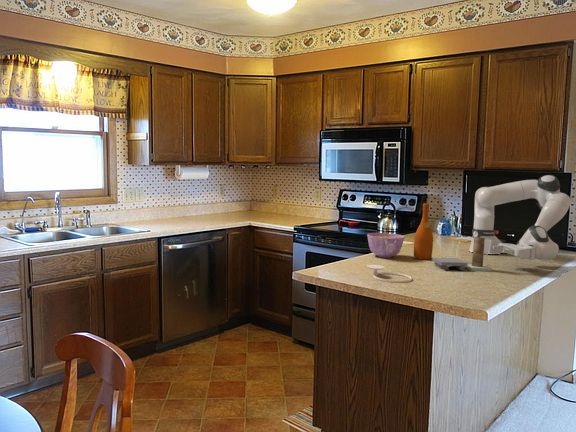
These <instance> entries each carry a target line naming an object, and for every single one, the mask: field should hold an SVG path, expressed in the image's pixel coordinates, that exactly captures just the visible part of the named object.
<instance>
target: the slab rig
mask: <svg viewBox="0 0 576 432" xmlns="http://www.w3.org/2000/svg"><path fill="white" fill-rule="evenodd" d="M431 259H432V260H431V261H432V262H434V265H435V266H437V267H439V268H440V269H442V270H444V272H445V271H449V270H450V269H449V267H450V266H451V267H453V268H455V269H457V270H459V271H461V272H464V271H465V270H466V268H465V267H464V266H468V264H469V263H468V262H467V261H465V260H463V259H461V258H459V257H435V256H434V257H433V256H432V258H431Z"/></svg>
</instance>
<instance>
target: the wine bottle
mask: <svg viewBox="0 0 576 432" xmlns="http://www.w3.org/2000/svg"><path fill="white" fill-rule="evenodd" d="M429 209H430V204H429V203H428V202H425V203H423V204H422V218H421V221H420V224H419V226H418V228H417V229H416V232H415V234H414V240H413V257H414V259H417V260H421V261H422V260H425V261H428V260H431V259H433V248H434V247H433V246H434V235H433V231H432V228H431V222H430V220H429V212H430V210H429Z"/></svg>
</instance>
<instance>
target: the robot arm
mask: <svg viewBox="0 0 576 432" xmlns="http://www.w3.org/2000/svg"><path fill="white" fill-rule="evenodd" d="M560 188H561V185H560V181H559V179H558V178H557V176H555V175H551V174H546V175H542V176H540V177H539V178H538V179H525V180H518V181H512V182H507V183H503V184H499V185H498V184H497V185H494V186H483V187H482V186H481V187H480V188H478V189H477V190H476V191H475V195H474V217H473V219H474V220H473V228H472V233H471V234H472V236H471V240H470V246H469V249H468V252H469V251H470V252H469V253H472V252H473V244H474V237H482V238H485V243H484V255H488V254H498V253H507V254H508V255H511V256H515V257H517V258H519V259H521V260H529V261H530V260H541V261H547V260H554V259H555V258H556V257H557V256H558V254H559V251H560V248H559V245H558V244H557V243H556V242H554V241H553V240H552V239H551V238H550V237H549V235H548V232H549V230H551V229H552V228H553V227H554V226H555V225H556V224H557V223H559V221H561V220H562V219H563V218H564V217H565V215H566V214H567V212H568V210H569V209H570V207H571V202H572V200H571V198H570V196H569V195H568V194H566V193H564V192H561V190H560ZM528 199H535V204H536V205H537V206H538V207H539V209H540V210H541V211H540V213H539V215H538V218H537V220H536V222H535V223H534V225H530V227H528V229H526V231H525V232H524V234H523V235H522V237H521V238H520V239H519V240H518V241H517V242H516V244H513V243H505V242H503V241H501V240H500V239H499V238H498V237H497V236H496V235H498V234H499V230H496V229H495V230H494V225H495V206H497V205H502V204H507V203H512V202H517V201H518V202H519V201H522V200H523V201H524V200H528Z"/></svg>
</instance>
